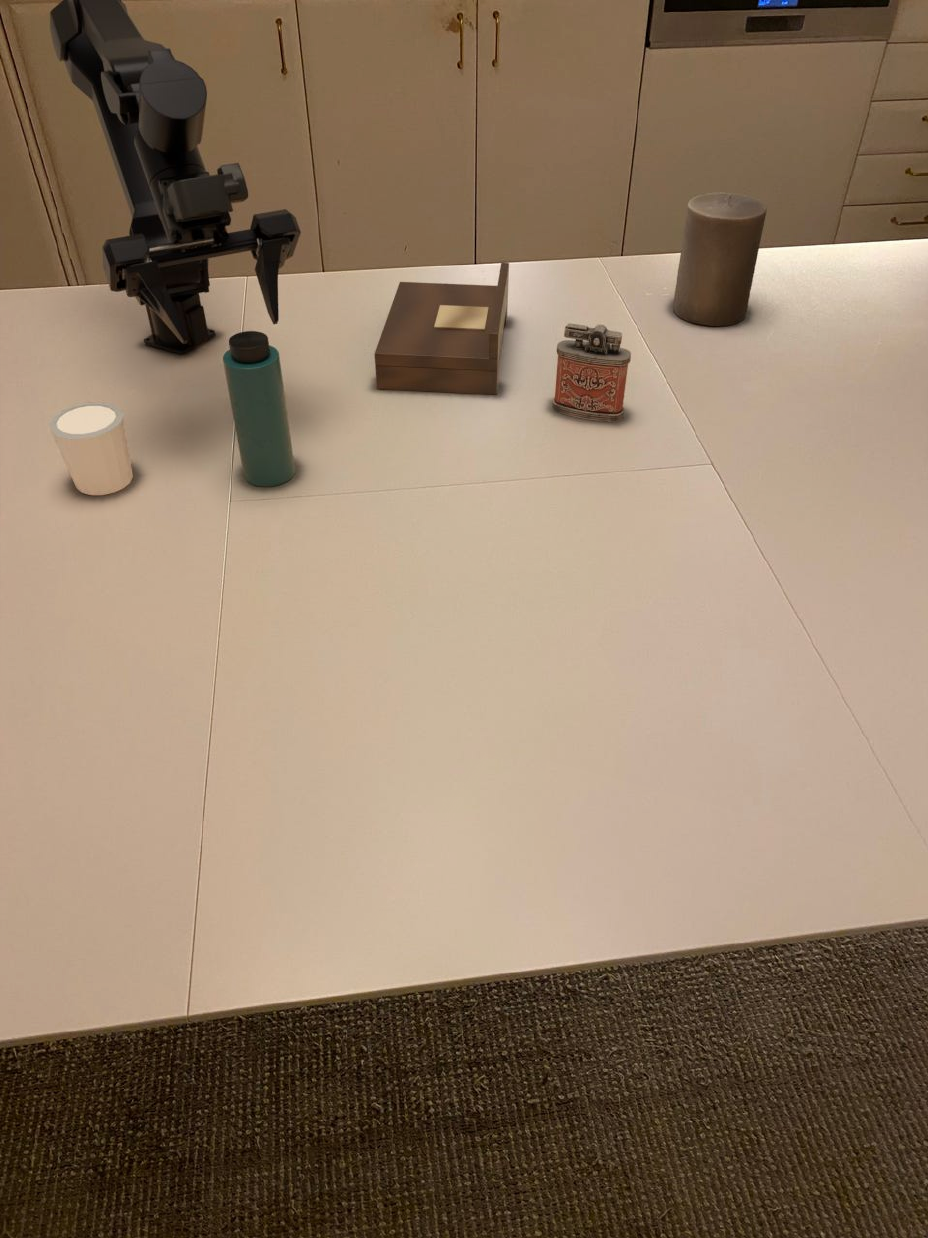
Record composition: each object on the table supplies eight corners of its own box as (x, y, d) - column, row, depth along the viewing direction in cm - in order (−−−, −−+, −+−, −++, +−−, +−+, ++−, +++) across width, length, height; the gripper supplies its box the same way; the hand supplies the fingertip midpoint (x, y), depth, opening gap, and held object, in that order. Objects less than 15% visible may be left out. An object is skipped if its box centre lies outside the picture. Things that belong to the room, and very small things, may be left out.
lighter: (626, 410, 107) (637, 325, 101) (619, 424, 105) (630, 339, 98) (556, 398, 109) (563, 315, 102) (549, 412, 107) (555, 328, 100)
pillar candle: (758, 322, 124) (784, 203, 114) (688, 330, 122) (709, 210, 112) (726, 292, 131) (748, 177, 121) (660, 299, 129) (676, 183, 119)
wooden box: (376, 388, 111) (372, 327, 106) (401, 314, 125) (398, 258, 120) (496, 394, 110) (498, 333, 105) (507, 319, 125) (509, 262, 119)
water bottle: (233, 478, 97) (208, 344, 87) (264, 454, 100) (243, 322, 91) (275, 492, 95) (253, 357, 85) (305, 466, 99) (287, 334, 89)
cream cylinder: (120, 502, 94) (101, 441, 89) (56, 494, 95) (34, 433, 90) (150, 465, 99) (135, 404, 94) (89, 457, 100) (71, 397, 95)
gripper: (77, 147, 82) (136, 318, 83) (281, 119, 89) (336, 277, 89) (82, 212, 93) (135, 364, 93) (265, 183, 99) (315, 325, 99)
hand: (231, 332), depth 93 cm, fingers open, 9 cm apart
